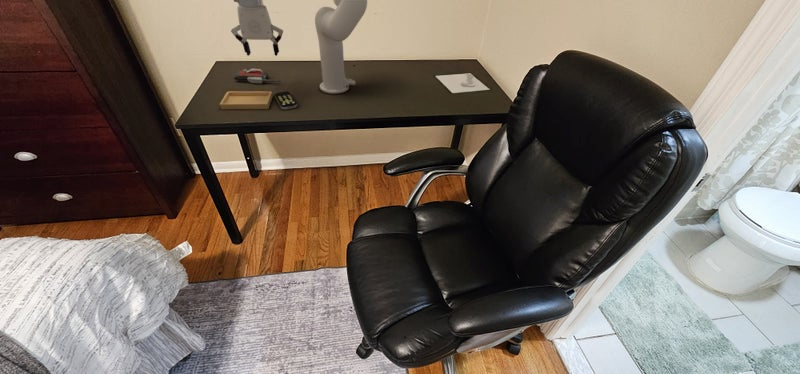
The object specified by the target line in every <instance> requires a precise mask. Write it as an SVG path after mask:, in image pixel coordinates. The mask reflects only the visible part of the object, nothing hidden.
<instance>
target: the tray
mask: <svg viewBox="0 0 800 374" xmlns="http://www.w3.org/2000/svg"><path fill="white" fill-rule="evenodd" d="M273 97H274V95H273V92H272V91H263V90H262V91H254V90H253V91H227V92H226V93H225V94H224V96H223V98H222V99H221V101H220V102H219V107H220V110H269V108H270V105H271V103H272V100H273Z"/></svg>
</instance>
